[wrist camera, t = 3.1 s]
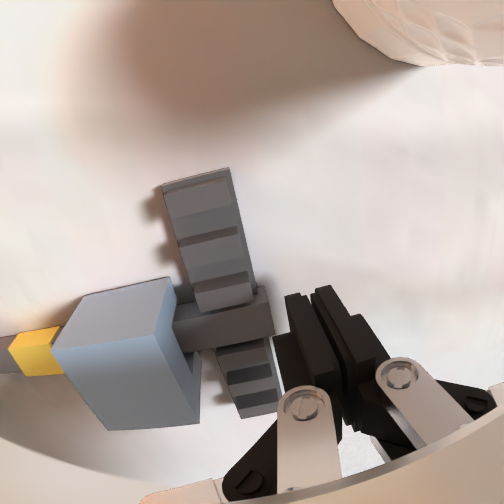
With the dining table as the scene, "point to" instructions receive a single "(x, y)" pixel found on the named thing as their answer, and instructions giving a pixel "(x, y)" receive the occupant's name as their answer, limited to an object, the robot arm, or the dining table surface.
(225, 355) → the dark grey gear rack
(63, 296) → the dining table surface
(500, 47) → the white cup
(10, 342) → the bar
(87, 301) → the sleeve
